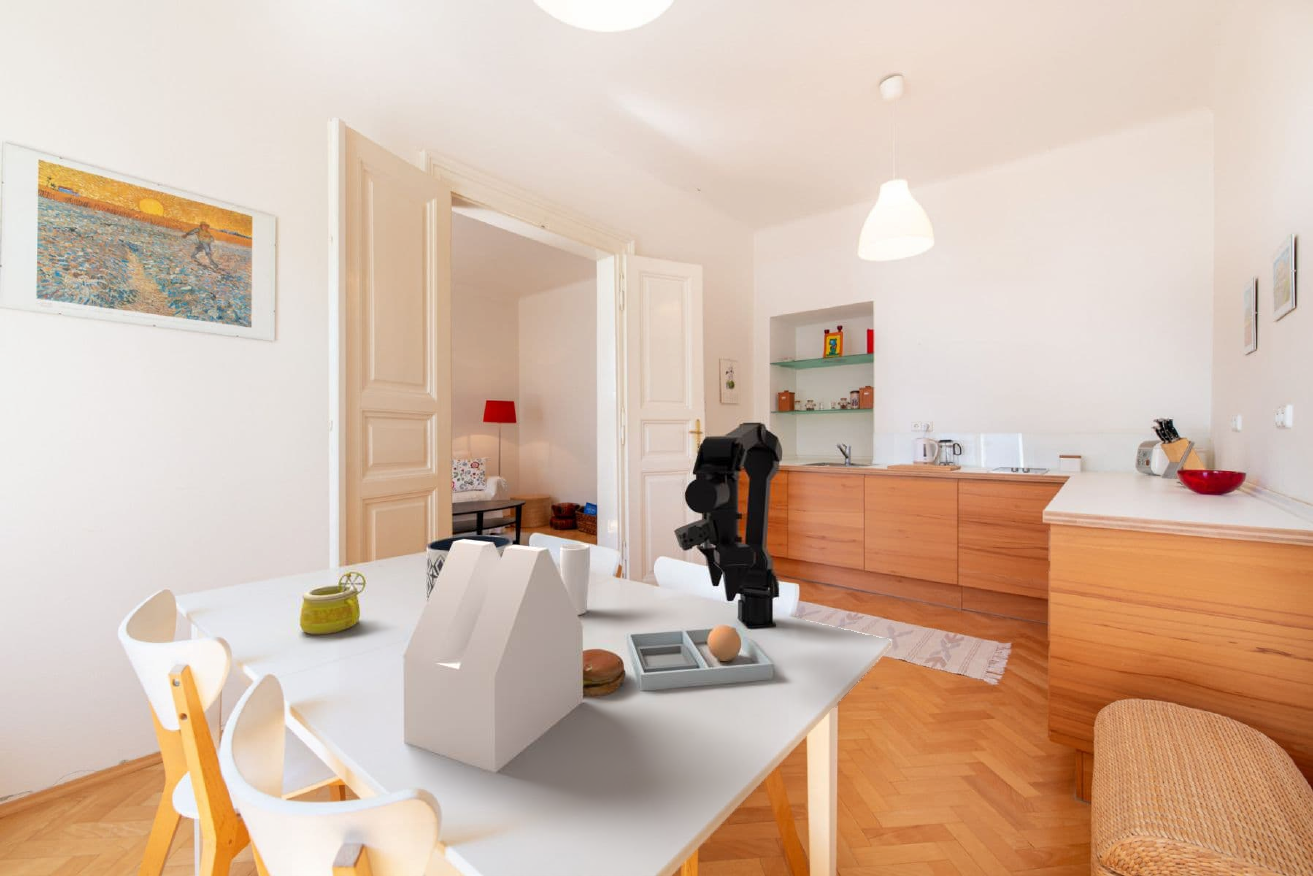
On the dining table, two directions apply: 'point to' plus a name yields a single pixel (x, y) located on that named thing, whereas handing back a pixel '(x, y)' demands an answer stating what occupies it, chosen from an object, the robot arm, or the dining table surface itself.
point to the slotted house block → (492, 655)
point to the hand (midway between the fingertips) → (722, 593)
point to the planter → (441, 548)
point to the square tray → (665, 658)
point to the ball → (724, 643)
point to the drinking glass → (576, 573)
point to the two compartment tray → (703, 673)
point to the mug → (331, 607)
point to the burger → (601, 672)
